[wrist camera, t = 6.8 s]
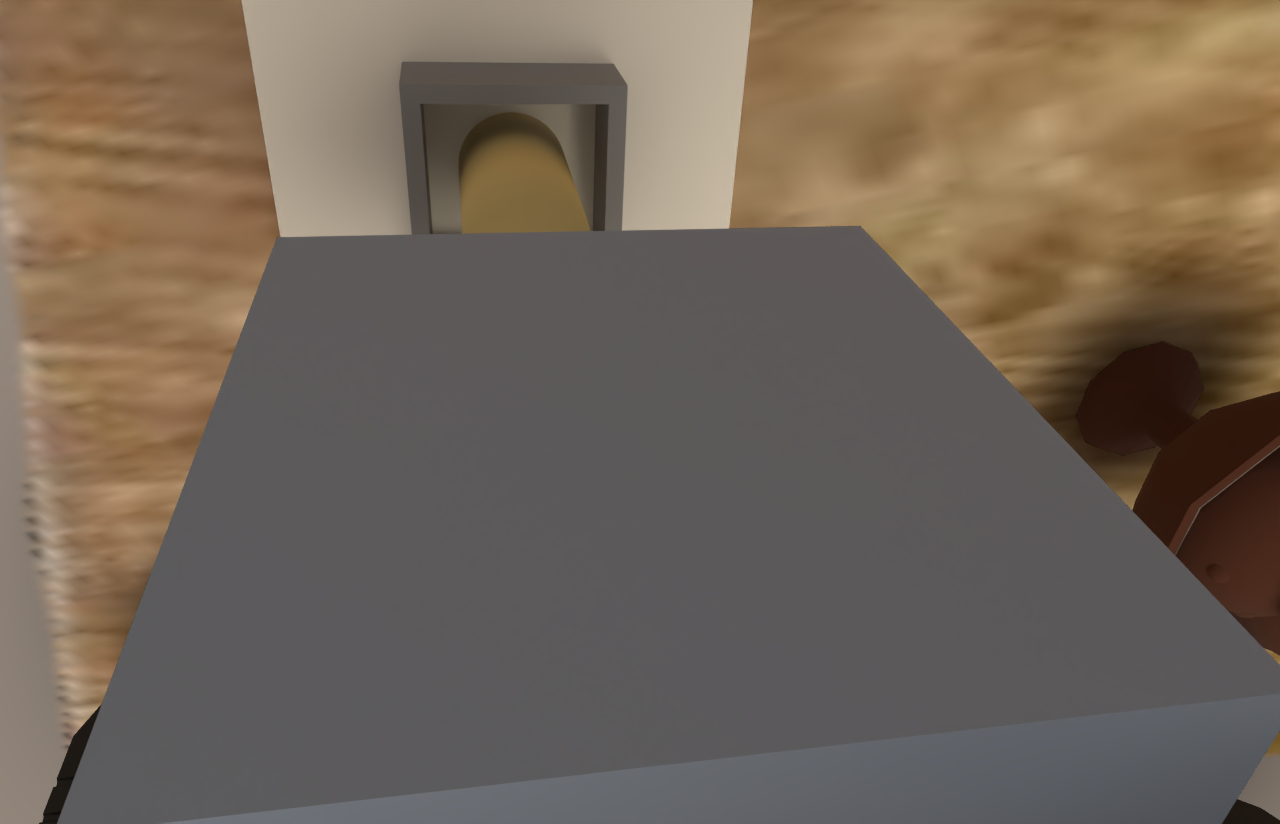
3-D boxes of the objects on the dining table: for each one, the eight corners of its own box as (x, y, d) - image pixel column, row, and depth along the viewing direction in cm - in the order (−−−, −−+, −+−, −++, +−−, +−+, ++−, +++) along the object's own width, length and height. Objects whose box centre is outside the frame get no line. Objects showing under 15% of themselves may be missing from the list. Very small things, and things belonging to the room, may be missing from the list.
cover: (277, 237, 13) (52, 834, 6) (860, 225, 14) (1303, 689, 7) (348, 666, 18) (278, 1313, 10) (787, 626, 19) (1009, 1166, 11)
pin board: (247, -52, 26) (172, 11, 19) (737, -37, 29) (842, 23, 21) (336, 516, 37) (311, 698, 30) (687, 491, 39) (745, 653, 32)
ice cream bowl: (969, 426, 40) (1204, 708, 28) (1190, 230, 37) (1569, 452, 24) (1095, 534, 45) (1341, 814, 33) (1299, 371, 42) (1660, 614, 30)
